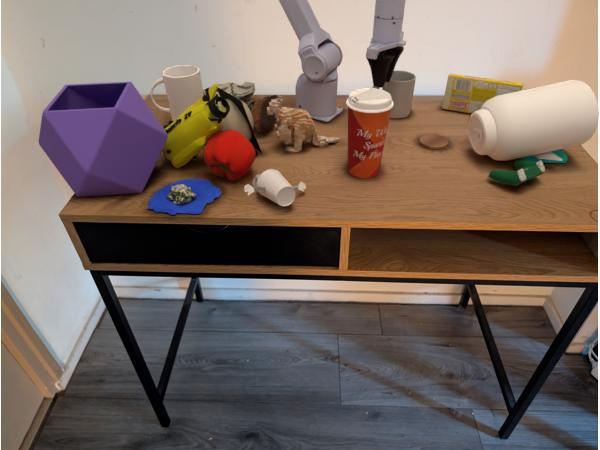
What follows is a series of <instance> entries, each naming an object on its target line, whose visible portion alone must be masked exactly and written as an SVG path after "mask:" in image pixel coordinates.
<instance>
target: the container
mask: <svg viewBox="0 0 600 450" xmlns="http://www.w3.org/2000/svg"><path fill="white" fill-rule="evenodd" d="M40 121H41V122H40V127H39V128H40V129H39V135H38V144H39V146H40V148H41V149H42V151H43V152H44V154H45V155H46V156H47V158H48V159H49V160H50V162H51V163H52V164H53V166H54V167H55V169H56V170H57V171H58V173H59V174H60V175H61V176H62V178H63V180H64V181H65V182H66V183H67V185H68V186H69V188H70V189H71V190H72V192H73V194H74V195H75V196H76V197H77V198H85V197H102V196H116V195H117V196H118V195H129V194H142V193H143V191H144V190H145V188H146V185H147V183H148V181H149V179H150V177H151V175H152V173H153V171H154V169H155V167H156V165H157V163H158V160H159V159H160V156H161V154H162V153H163V152H162V150H163V148H164V146H165V143H166V141H167V139H168V134H167V133H166V131H165V130H164V128H163V127H164V126H163V125H162V124H161V122H160V121H159V120H158V118H157V117H156V115H155V114H154V113H153V111H152V109H151V108H150V106H149V105H148V104H147V102H146V100H145V99H144V98H143V97H142V95H141V94H140V92H139V90H138V89H137V88H136V87H135V85H134V83H133V81H116V82H114V81H113V82H93V83H92V82H91V83H73V84H70V83H69V84H64V86H62V88H61V89H60V90H59V91H58V93H57V94H56V95H55V96H54V98H53V99H52V100H51V101H50V102H49V103H48V105H47V106H46V107H45V108H44V109H43V111H42V113H41V120H40Z"/></svg>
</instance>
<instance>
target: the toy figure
mask: <svg viewBox="0 0 600 450" xmlns="http://www.w3.org/2000/svg"><path fill="white" fill-rule="evenodd" d="M252 185H253V186H252ZM252 185H250V184H249V183H247V184H245V185H244V187H243V192H244V193H247V196H250V195H252V194H253V193H259V194H260V195H261V196H263V197H265V198H266V199H268V200H270V201H271V204H273V205H275V204H277V205H278V206H280V207H289V206H290V205H291V204H292V203H294V202H295V200H296V196H297V192H296V191H301V192H302V193H304V192H305V190H306V189H307V185H306V183H305V182H304V181H300V182H299V183H298V184H291V183H290V182H289V181H288V180H287V179H286V178H285V176H284V175H283V174H282V172H281V171H279V170H278V169H275V168H269V169H268V168H267V169H266V170H264V171H262V172H261V173H257V174H256V175H255V177H254V178H253V180H252Z"/></svg>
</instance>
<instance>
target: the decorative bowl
mask: <svg viewBox="0 0 600 450" xmlns="http://www.w3.org/2000/svg"><path fill="white" fill-rule="evenodd" d="M212 86H213V85H211V86H208V87H207V88H209V89H210V88H211V87H212ZM218 88H220V89H222V90H224V91H225V92H227V93H229V94H230V95H232V96H234V97H235V98H237V99H239V100H241V101H243V102H244V103H245V102H249V101H250V99H251V98H252V97H253V96H254V94H255V92H256V85H255V83H254V82H251V81H245V82H243V83H241V84H238V83H236V82H234V81H233V82H229V81H228V82H225V83H218ZM205 89H206V88H203V94H205ZM216 94H218V96H220V95H219V93H218V90H217V91H216ZM216 94H215V95H216ZM214 97H215V96H214ZM215 101H216V100H215Z"/></svg>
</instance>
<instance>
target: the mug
mask: <svg viewBox="0 0 600 450" xmlns="http://www.w3.org/2000/svg"><path fill="white" fill-rule="evenodd" d="M161 74H162V77H160V78H158V79H156V80H155V81H154V82H153V84H152V85H151V87H150V92H149V93H150V95H149V96H150V99H151V102H152V104H153V105H154V106H155V108H157V109H158V110H159V111H161V112H163V113H166V114H170V117H171V121H172V120H173V121H175V120H176V119H177V118H178V117H179V116H180V115H181V114H182V113H183V112H184V111H185V110H186V109H187V108H188V107H190V106H191V105H193V104H194V103H195V102H196V101H198V100H199V99H200V98H201V97H202V96H203V95H204V94H203V90H204V88H203V83H202V82H203V81H202V77H201V71H200V68H199V67H198V66H196V65H192V64H179V65H173V66H169V67H166V68H165V69H163V71H162V73H161ZM161 84H164V88H165V93H166V98H167V103H168V106H169V107H163V106H162V105H160V104H158V103H157V102H156V100H155V99H154V90H155V88H156V87H157V86H159V85H161Z"/></svg>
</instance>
